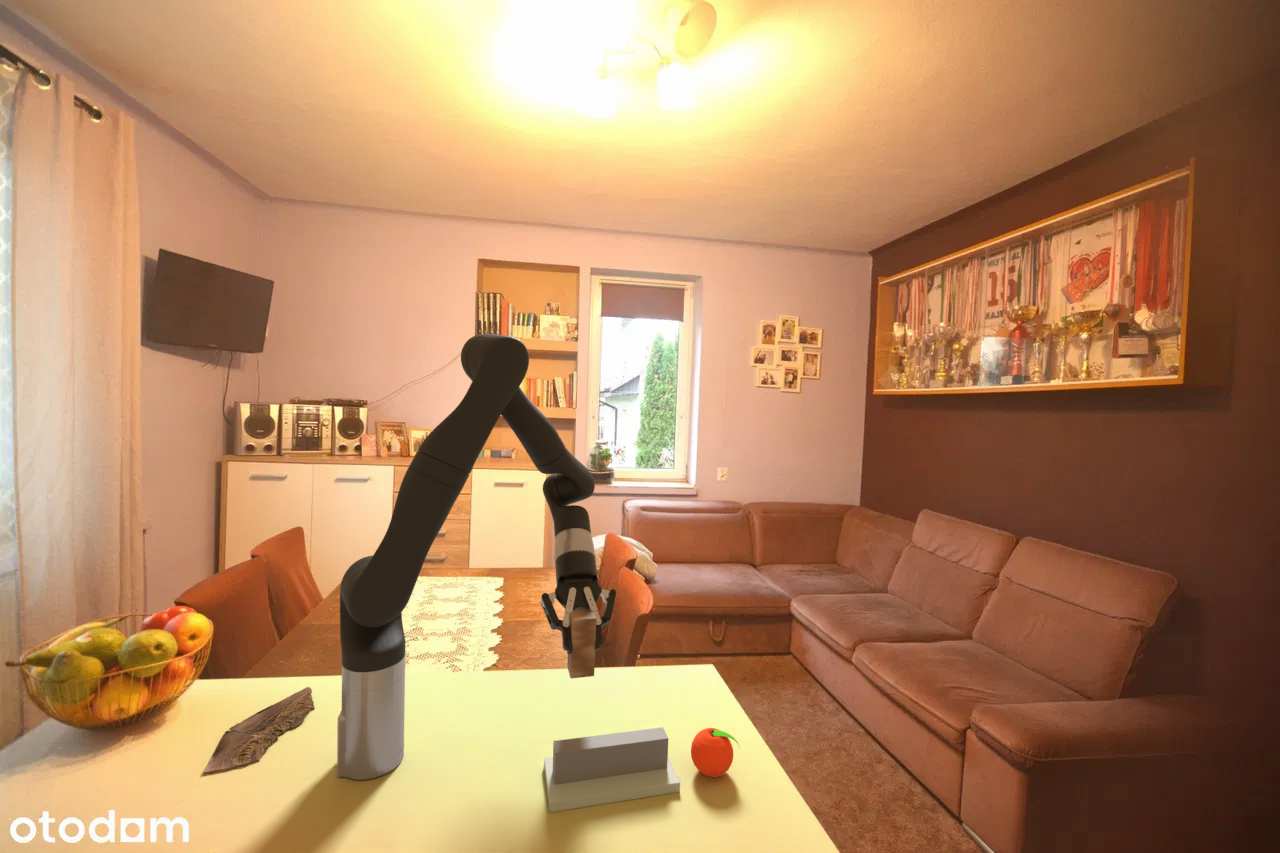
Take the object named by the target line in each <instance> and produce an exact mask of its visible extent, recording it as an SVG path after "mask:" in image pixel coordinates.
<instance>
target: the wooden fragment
mask: <svg viewBox="0 0 1280 853" xmlns="http://www.w3.org/2000/svg"><path fill="white" fill-rule="evenodd" d="M312 692H313V690H312V688H311V687H310V686H307V687H305V688H302V689H301V690H299V691H297V692H295V693H293V694H291V695H289V696H287V697H285V698H284V699H281V700H280V701H278V702H276V703H274V704H271V705H269V706H267V707H265V708H263V709H262V710H259V711H258V712H256V713H254V714H252V715H250V716H248V717H247V718H245V719H244V720H242V721H240V722H239V723H236V724H234V725H232V726H230V727H229V730H226V731H225V732H224V733H223V735H222V737H221V739H220V740H219V743H218V745H217V747H216V749H215V751H214V752H213V754H212V756H211V758H210V759H209V762H208V764H207V765H206V767H205V768H204V770H203V773H202V775H204V776H207V775H206V774H209V775H214V773H215V774H223V773H227V772H230V771H232V770H235V769H239V768H243V767H247V766H249V765H251V764H254V763H258V762H260V761H261V758H263V755H264V753H266V752H267V751H268V749H269V747H270V746H271V745H273V744H274V743H275V742H277V741H278V740H279V737H280V736H282V735H283V734H284V733H285V732H287V731H291V730H293V729H294V728H296V727H297V726H300V725H301V724H302V723H303V722H305V719H306V718H307V715H308V714H309V713H310V712H311V711H313V710H315V708H316V707H315V705H314V704H315V703H314V702H315V701H314V700H313V696H312Z"/></svg>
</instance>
